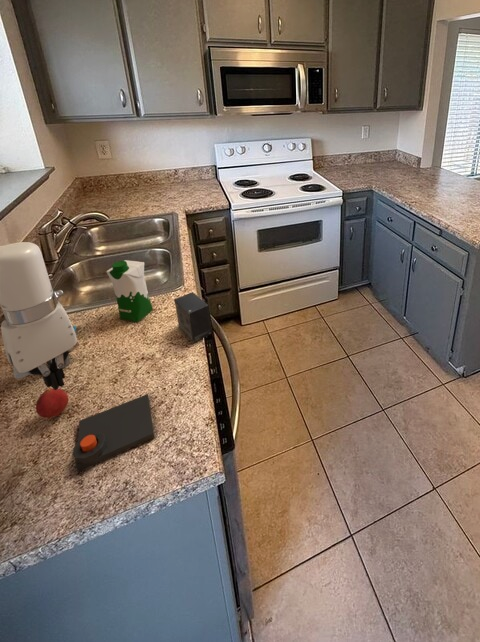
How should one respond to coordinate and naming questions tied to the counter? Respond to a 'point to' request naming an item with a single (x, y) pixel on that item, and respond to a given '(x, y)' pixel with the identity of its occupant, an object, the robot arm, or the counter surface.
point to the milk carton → (130, 290)
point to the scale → (115, 431)
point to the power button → (88, 443)
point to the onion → (51, 403)
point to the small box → (193, 317)
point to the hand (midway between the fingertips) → (56, 384)
